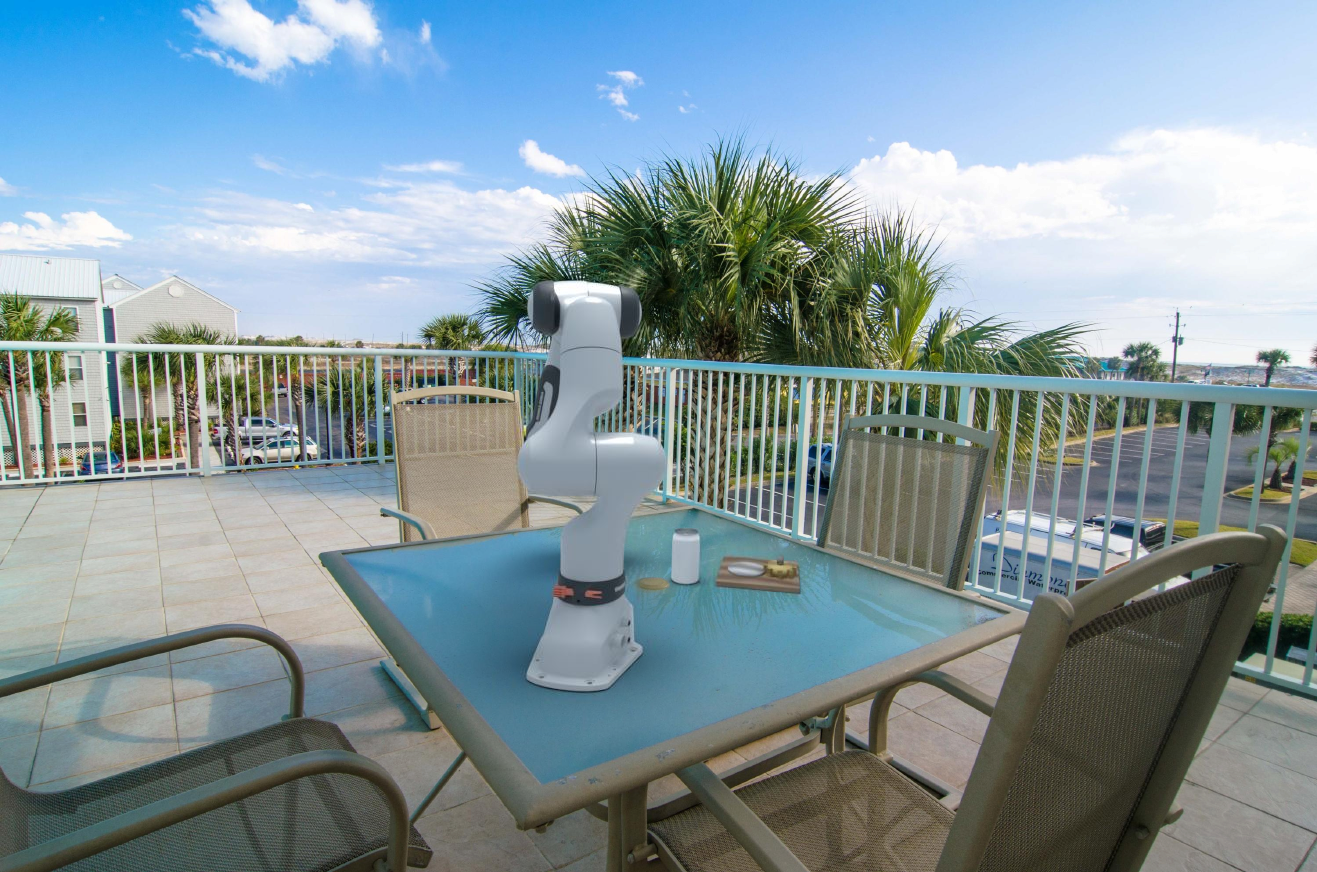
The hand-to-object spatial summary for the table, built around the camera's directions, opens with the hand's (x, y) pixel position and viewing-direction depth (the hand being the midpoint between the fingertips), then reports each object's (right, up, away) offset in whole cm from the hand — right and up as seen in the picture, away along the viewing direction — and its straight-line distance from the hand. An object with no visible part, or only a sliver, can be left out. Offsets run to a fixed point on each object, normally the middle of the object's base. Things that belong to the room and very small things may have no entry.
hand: (647, 470), depth 153 cm
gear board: (+27, -26, +4) cm, 38 cm away
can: (+9, -26, -1) cm, 28 cm away
